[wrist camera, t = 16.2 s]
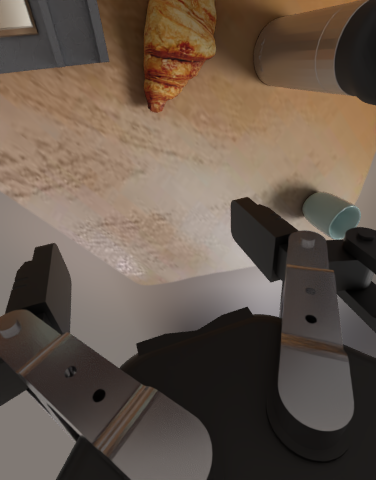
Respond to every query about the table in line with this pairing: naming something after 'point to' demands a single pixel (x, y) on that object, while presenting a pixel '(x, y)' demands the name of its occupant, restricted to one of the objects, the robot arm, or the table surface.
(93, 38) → the rack
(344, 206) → the cup
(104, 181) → the table surface
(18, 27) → the offcut upper
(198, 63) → the croissant
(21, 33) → the offcut lower
